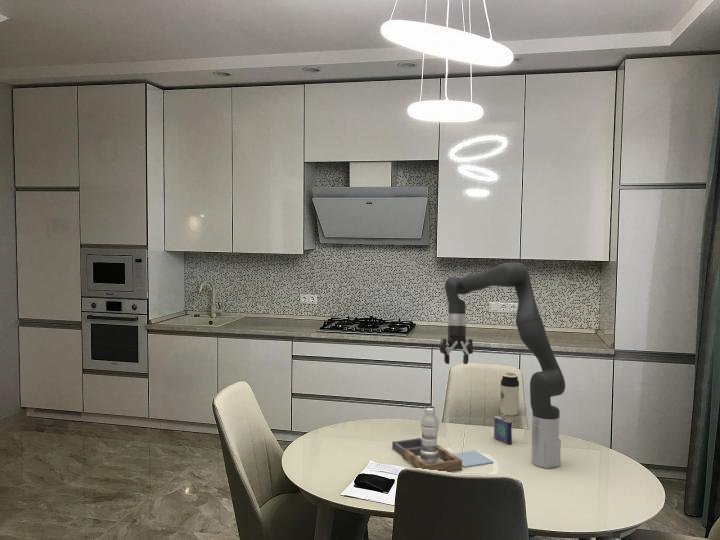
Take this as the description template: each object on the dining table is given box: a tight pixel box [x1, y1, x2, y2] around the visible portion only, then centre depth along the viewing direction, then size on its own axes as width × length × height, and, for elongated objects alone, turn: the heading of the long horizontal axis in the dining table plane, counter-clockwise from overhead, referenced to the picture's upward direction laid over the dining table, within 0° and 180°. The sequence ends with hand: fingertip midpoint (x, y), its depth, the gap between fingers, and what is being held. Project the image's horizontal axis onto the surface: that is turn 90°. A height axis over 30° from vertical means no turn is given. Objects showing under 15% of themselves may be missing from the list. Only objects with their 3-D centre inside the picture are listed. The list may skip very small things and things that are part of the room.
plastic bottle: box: [419, 405, 440, 464], centre depth 217 cm, size 6×7×20 cm
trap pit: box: [391, 437, 422, 457], centre depth 230 cm, size 10×12×2 cm
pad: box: [452, 450, 494, 469], centre depth 221 cm, size 12×12×1 cm
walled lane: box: [402, 444, 463, 473], centre depth 216 cm, size 18×14×4 cm
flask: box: [493, 414, 513, 446], centre depth 240 cm, size 9×3×11 cm, turn 28°
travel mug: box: [500, 372, 520, 417], centre depth 277 cm, size 8×8×18 cm
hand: (456, 363), depth 254 cm, fingers open, 8 cm apart
